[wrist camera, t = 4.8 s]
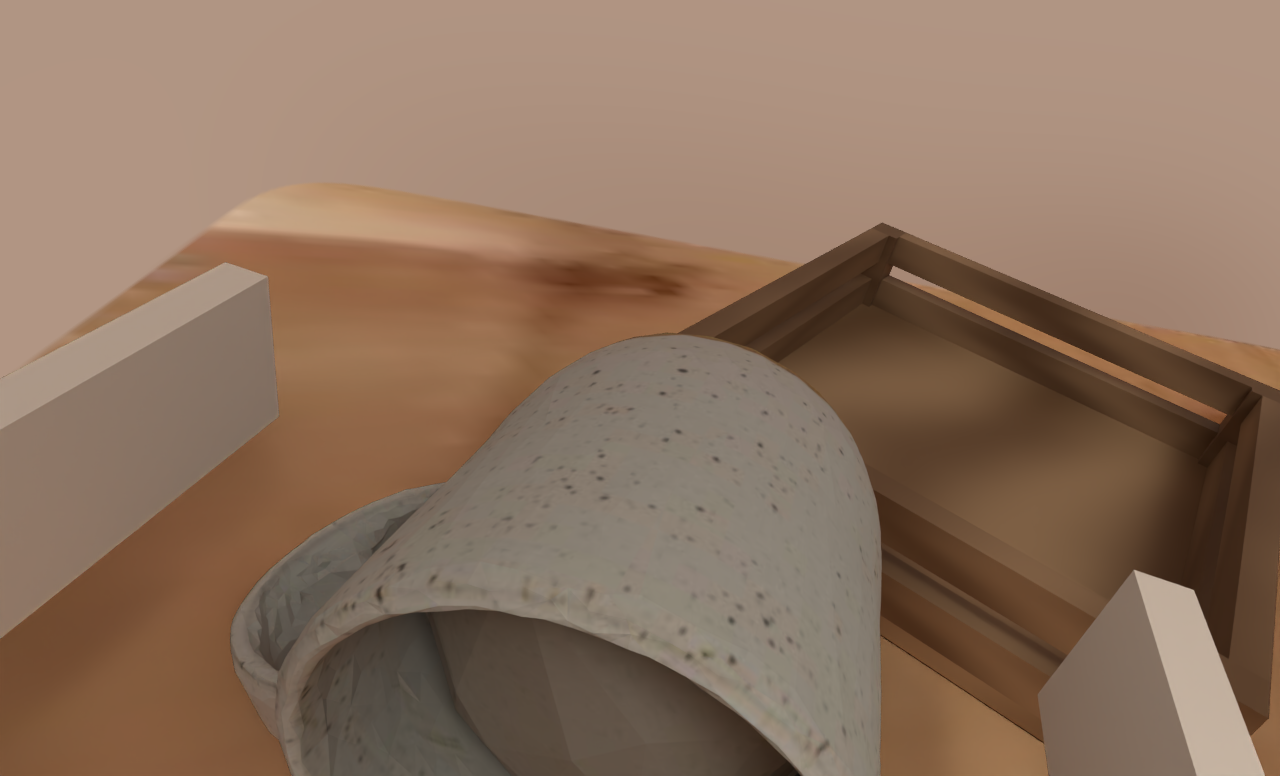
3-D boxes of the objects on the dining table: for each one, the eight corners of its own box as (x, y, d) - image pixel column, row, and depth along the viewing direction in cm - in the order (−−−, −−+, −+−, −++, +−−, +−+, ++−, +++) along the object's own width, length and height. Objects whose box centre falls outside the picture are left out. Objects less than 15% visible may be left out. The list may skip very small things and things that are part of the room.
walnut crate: (1224, 477, 27) (1289, 394, 25) (1160, 819, 16) (1268, 718, 14) (852, 300, 33) (882, 222, 31) (616, 459, 22) (639, 353, 20)
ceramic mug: (821, 642, 18) (955, 349, 14) (767, 1095, 11) (1000, 795, 7) (387, 494, 19) (386, 188, 15) (108, 814, 13) (-37, 424, 8)
